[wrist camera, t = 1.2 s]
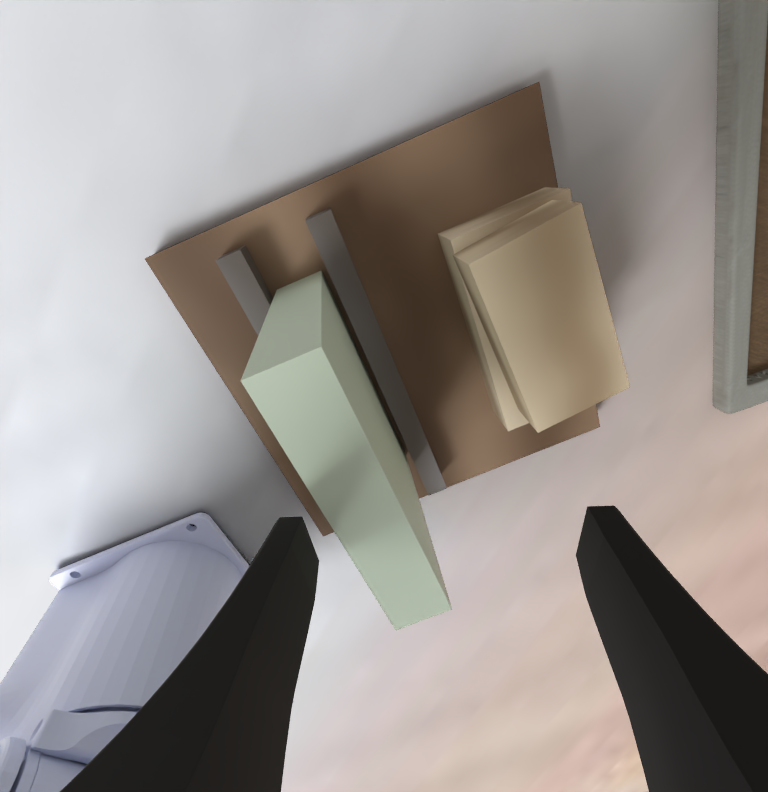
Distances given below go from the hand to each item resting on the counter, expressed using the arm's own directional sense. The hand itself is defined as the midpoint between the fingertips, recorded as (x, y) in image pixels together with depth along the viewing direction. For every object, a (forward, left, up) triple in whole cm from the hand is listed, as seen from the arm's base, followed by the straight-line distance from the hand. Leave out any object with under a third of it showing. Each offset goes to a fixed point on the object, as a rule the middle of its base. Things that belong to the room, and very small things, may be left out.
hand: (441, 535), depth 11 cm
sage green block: (-2, +1, -10) cm, 10 cm away
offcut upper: (+6, +1, -8) cm, 10 cm away
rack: (+1, +1, -11) cm, 11 cm away
